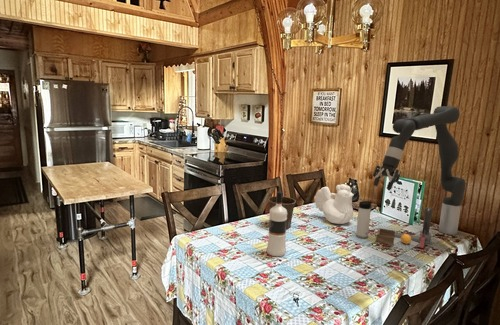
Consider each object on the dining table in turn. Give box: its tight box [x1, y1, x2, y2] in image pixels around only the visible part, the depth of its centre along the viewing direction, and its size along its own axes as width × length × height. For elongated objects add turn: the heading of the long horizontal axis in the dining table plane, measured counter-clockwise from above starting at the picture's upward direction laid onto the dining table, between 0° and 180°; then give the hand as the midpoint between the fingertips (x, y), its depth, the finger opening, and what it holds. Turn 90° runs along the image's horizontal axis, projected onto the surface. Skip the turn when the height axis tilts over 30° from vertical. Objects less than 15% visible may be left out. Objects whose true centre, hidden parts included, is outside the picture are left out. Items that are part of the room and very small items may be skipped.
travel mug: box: [355, 200, 373, 239], centre depth 175 cm, size 6×7×20 cm
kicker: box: [419, 207, 433, 249], centre depth 167 cm, size 14×5×18 cm, turn 154°
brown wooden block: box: [375, 227, 396, 246], centre depth 173 cm, size 12×8×4 cm
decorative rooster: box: [314, 183, 355, 225], centre depth 199 cm, size 25×16×25 cm, turn 39°
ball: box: [400, 233, 412, 245], centre depth 169 cm, size 5×5×5 cm
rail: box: [394, 231, 433, 245], centre depth 176 cm, size 5×23×1 cm, turn 64°
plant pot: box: [267, 195, 297, 230], centre depth 187 cm, size 16×16×16 cm
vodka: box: [266, 191, 287, 257], centre depth 150 cm, size 9×9×30 cm
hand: (381, 187), depth 161 cm, fingers open, 8 cm apart
